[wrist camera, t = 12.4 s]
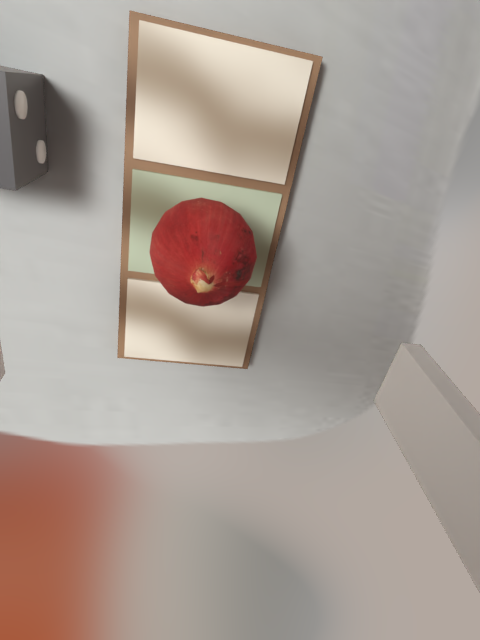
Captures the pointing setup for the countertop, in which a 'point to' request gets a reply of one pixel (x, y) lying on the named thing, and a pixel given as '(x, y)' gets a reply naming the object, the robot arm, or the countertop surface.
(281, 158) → the board
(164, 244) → the onion
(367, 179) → the countertop surface
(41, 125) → the die
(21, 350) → the countertop surface
